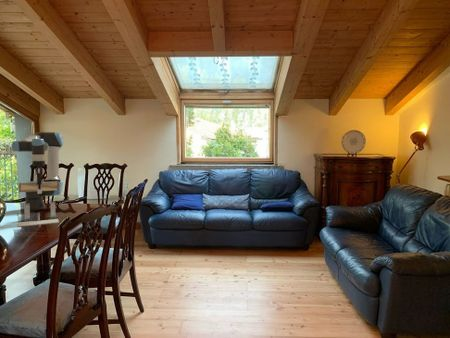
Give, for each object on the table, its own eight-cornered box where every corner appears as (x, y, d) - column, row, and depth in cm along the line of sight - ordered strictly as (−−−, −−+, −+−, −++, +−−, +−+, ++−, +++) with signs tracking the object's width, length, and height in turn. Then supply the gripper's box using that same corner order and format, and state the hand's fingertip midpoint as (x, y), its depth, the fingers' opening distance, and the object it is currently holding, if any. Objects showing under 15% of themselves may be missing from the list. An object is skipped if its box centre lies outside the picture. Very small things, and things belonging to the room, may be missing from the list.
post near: (23, 219, 219) (22, 203, 219) (31, 218, 222) (31, 203, 221) (22, 221, 214) (22, 205, 213) (31, 220, 217) (30, 204, 216)
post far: (49, 217, 227) (48, 202, 226) (57, 216, 230) (56, 201, 229) (49, 219, 222) (48, 203, 221) (57, 218, 225) (56, 202, 224)
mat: (17, 223, 209) (17, 222, 209) (58, 219, 221) (58, 218, 221) (16, 227, 200) (16, 226, 200) (58, 222, 212) (58, 222, 212)
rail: (19, 191, 216) (19, 182, 216) (58, 189, 228) (58, 181, 228) (19, 192, 213) (18, 183, 212) (58, 190, 225) (58, 181, 225)
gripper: (32, 159, 224) (34, 191, 226) (31, 161, 210) (33, 195, 212) (44, 159, 228) (45, 191, 230) (44, 161, 213) (45, 194, 216)
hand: (39, 193), depth 221 cm, fingers closed on rail, 4 cm apart
